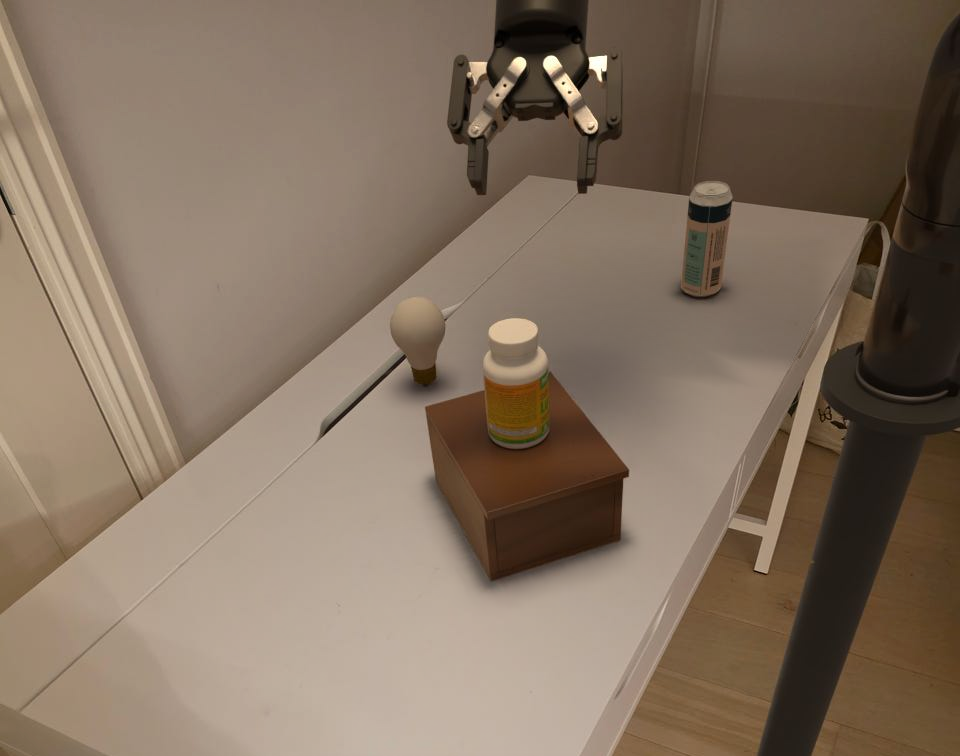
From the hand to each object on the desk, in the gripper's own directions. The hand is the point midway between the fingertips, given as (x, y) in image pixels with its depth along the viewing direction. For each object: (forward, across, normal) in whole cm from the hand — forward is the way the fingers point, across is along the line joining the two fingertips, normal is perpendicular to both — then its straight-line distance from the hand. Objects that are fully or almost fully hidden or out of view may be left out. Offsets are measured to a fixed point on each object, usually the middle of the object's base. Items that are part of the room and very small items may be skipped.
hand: (530, 190), depth 72 cm
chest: (+25, 0, +9) cm, 27 cm away
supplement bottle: (+19, 0, +3) cm, 20 cm away
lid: (+20, 0, +3) cm, 20 cm away
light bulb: (+11, -14, +24) cm, 30 cm away
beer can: (-4, +16, +39) cm, 43 cm away
